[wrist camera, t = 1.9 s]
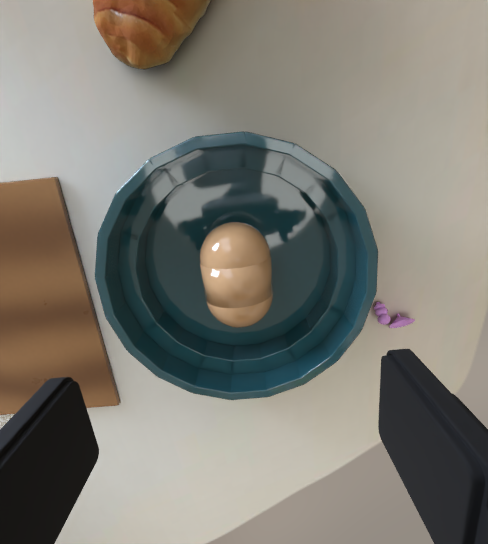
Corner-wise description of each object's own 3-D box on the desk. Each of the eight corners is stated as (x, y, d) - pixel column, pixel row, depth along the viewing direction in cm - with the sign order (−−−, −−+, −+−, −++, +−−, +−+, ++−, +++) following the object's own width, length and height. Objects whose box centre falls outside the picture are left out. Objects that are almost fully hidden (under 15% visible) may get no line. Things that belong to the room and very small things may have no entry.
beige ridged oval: (199, 219, 21) (188, 233, 16) (265, 213, 21) (271, 225, 16) (213, 311, 23) (206, 344, 19) (272, 306, 23) (278, 337, 19)
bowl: (97, 154, 20) (60, 151, 16) (354, 126, 19) (384, 116, 15) (147, 369, 25) (129, 408, 21) (351, 352, 24) (372, 388, 20)
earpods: (392, 308, 25) (411, 298, 23) (400, 327, 24) (420, 319, 22) (364, 307, 23) (383, 297, 22) (372, 327, 23) (391, 318, 21)
